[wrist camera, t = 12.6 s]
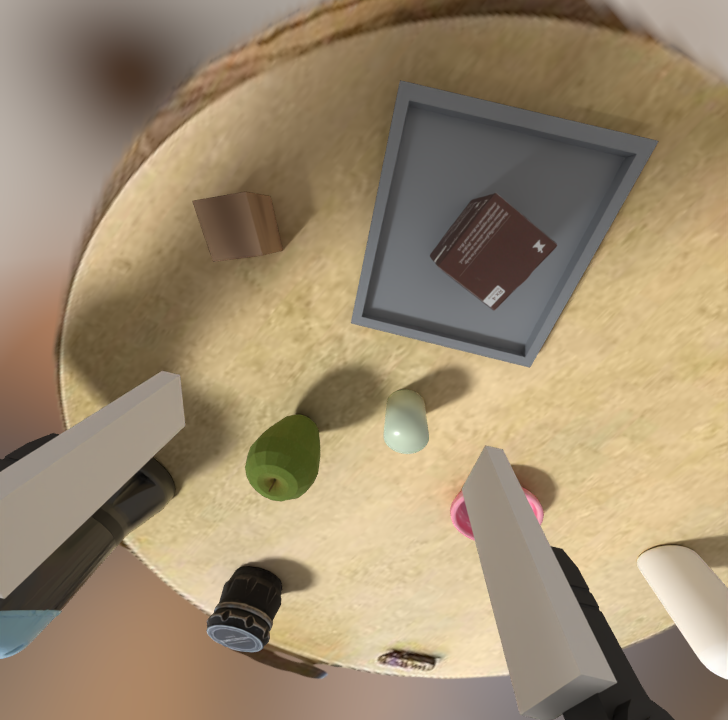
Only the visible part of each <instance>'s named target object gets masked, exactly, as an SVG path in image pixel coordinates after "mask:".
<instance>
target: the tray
mask: <svg viewBox="0 0 728 720" xmlns="http://www.w3.org/2000/svg"><path fill="white" fill-rule="evenodd" d="M657 143H658V141H657V140H652V139H648V138H644V137H639V136H635V135H631V134H627V133H622V132H618V131H614V130H610V129H605V128H601V127H597V126H593V125H588V124H584V123H580V122H576V121H571V120H567V119H563V118H559V117H554V116H550V115H546V114H542V113H537V112H533V111H529V110H524V109H520V108H516V107H512V106H507V105H503V104H499V103H495V102H490V101H486V100H482V99H478V98H473V97H469V96H465V95H461V94H456V93H452V92H448V91H444V90H439V89H435V88H431V87H426V86H422V85H418V84H414V83H409V82H405V81H401V80H400V83H399V88H398V93H397V98H396V103H395V108H394V113H393V118H392V123H391V128H390V132H389V137H388V142H387V147H386V152H385V157H384V162H383V167H382V172H381V177H380V182H379V187H378V192H377V197H376V202H375V207H374V212H373V217H372V221H371V226H370V231H369V236H368V241H367V246H366V251H365V256H364V261H363V266H362V271H361V276H360V281H359V286H358V291H357V296H356V301H355V306H354V310H353V315H352V320H351V323H352V324H356V325H360V326H364V327H368V328H372V329H376V330H380V331H384V332H388V333H392V334H396V335H400V336H404V337H408V338H412V339H417V340H421V341H425V342H429V343H433V344H437V345H441V346H445V347H449V348H453V349H457V350H461V351H465V352H469V353H473V354H477V355H481V356H485V357H489V358H493V359H497V360H502V361H506V362H510V363H514V364H518V365H522V366H526V367H531V365H532V363H533V361H534V360H535V358H536V356H537V354H538V353H539V351H540V349H541V347H542V346H543V344H544V342H545V340H546V339H547V337H548V335H549V333H550V332H551V330H552V328H553V326H554V324H555V323H556V321H557V319H558V317H559V316H560V314H561V312H562V310H563V309H564V307H565V305H566V303H567V302H568V300H569V298H570V296H571V295H572V293H573V291H574V289H575V287H576V286H577V284H578V282H579V280H580V279H581V277H582V275H583V273H584V272H585V270H586V268H587V266H588V265H589V263H590V261H591V259H592V258H593V256H594V254H595V252H596V250H597V249H598V247H599V245H600V243H601V242H602V240H603V238H604V236H605V235H606V233H607V231H608V229H609V228H610V226H611V224H612V222H613V221H614V219H615V217H616V215H617V214H618V212H619V210H620V208H621V206H622V205H623V203H624V201H625V199H626V198H627V196H628V194H629V192H630V191H631V189H632V187H633V185H634V184H635V182H636V180H637V178H638V177H639V175H640V173H641V171H642V169H643V168H644V166H645V164H646V162H647V161H648V159H649V157H650V155H651V154H652V152H653V150H654V148H655V147H656V145H657ZM494 193H497V194H498V195H500V196H501V197H502V198H503V199H504V200H505V201H507V202H508V203H509V204H510V205H511V206H512V207H514V208H515V209H516V210H517V211H519V212H520V213H521V214H522V215H524V216H525V217H526V218H527V219H528V220H530V221H531V222H532V223H533V224H534V225H535V226H537V227H538V228H539V229H540V230H541V231H542V232H544V233H545V234H546V235H547V236H548V237H549V238H551V239H552V240H553V241H554V242H556V243H557V247H556V248H555V249H554V250H553V251H552V252H551V253H550V255H549V256H548V257H547V258H546V259H545V260H544V261H543V262H542V263H541V264H540V265H539V266H538V267H537V268H536V269H535V270H534V271H533V272H532V273H531V275H530V276H529V277H528V279H527V280H526V281H525V282H524V283H522V284H521V285H520V286H519V287H517V288H516V290H515V291H514V292H513V293H512V294H511V295H510V296H509V297H508V298H507V299H506V300H505V301H504V302H503V303H502V304H501V305H500V306H499V307H498V308H497V309H496V310H495V311H494V310H492V309H491V308H489V307H488V306H487V305H485V304H484V303H483V302H482V301H480V300H479V299H478V298H476V297H475V296H474V295H473V294H471V293H470V292H469V291H467V290H466V289H465V288H463V287H462V286H461V285H460V284H458V283H457V282H456V281H454V280H453V279H452V278H451V277H449V276H448V275H447V274H445V273H444V272H443V271H442V270H441V269H440V268H439V267H438V266H437V265H436V264H435V262H434V261H433V260H432V259H431V258H430V254H431V253H432V251H433V250H434V249H435V247H436V246H437V245H438V243H439V242H440V240H441V239H442V238H443V236H444V235H445V234H446V232H447V231H448V230H449V228H450V227H451V225H452V224H453V223H454V222H455V220H456V219H457V218H458V217H459V215H460V214H461V213H462V212H463V210H464V209H465V208H466V206H467V205H468V204H469V202H470V201H471V200H472V199H476V198H479V197H483V196H487V195H490V194H494Z"/></svg>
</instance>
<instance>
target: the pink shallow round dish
mask: <svg viewBox="0 0 728 720" xmlns="http://www.w3.org/2000/svg"><path fill="white" fill-rule="evenodd" d="M522 489H523V491H524V493H525V495H526V498H527V500H528V502H529V504H530V506H531V508H532V510H533V512H534V514H535V516H536V518H537V520H538V522H539V524H540V525H541V523H542V521H543V516H544V513H543V508H542V506H541V504H540V502H539V500H538V499H537V498H536V497H535V496H534V495H533V494H532V493H531V492H530V491H528V490H526V489H525V488H523V487H522ZM450 513H451V520H452V522H453V524H454V526H455V527H456V529H457V530H458V531H459V532H460V533H462V534H463V535H465V536H466V537H468V538H470V539H472V540H475V539H474V535H473V531H472V527H471V524H470V520H469V516H468V512H467V508H466V504H465V500H464V497H463V493H462V491H460V492H459V493H458V495H457V496H456V498H455V499H454V500H453V502H452V505H451V509H450Z"/></svg>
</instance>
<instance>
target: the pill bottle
mask: <svg viewBox="0 0 728 720" xmlns="http://www.w3.org/2000/svg"><path fill="white" fill-rule="evenodd" d="M637 565H638V568H639V569H640V571H641V573H642V574H643V576H644V577H645V579H646V580H647V582H648V583H649V585H650V586H651V588H652V589H653V591H654V592H655V594H656V595H657V597H658V598H659V600H660V601H661V603H662V604H663V606H664V607H665V609H666V610H667V612H668V613H669V615H670V616H671V618H672V619H673V621H674V622H675V624H676V625H677V627H678V628H679V629H680V631H681V633H682V634H683V635H684V637H685V638H686V640H687V641H688V643H689V644H690V646H691V647H692V649H693V651H694V652H695V654H696V655H697V656H698V658H699V659H700V661H701V662H702V663H703V664H704V665H705V666H706V667H707V668H708V669H709V670H710V671H712V672H713V673H715V674H717V675H718V676H720V677H723V678H725V679H728V588H727V587H726V585H725V584H724V583H723V582H722V581H721V580H720V579H719V577H718V576H717V575H716V574H715V573H714V572H713V571H712V569H711V568H710V567H709V566H708V565H707V564H706V563H705V561H704V560H703V559H702V558H701V557H700V556H699V555H698V554H697V553H696V552H694V551H693V550H691V549H689V548H687V547H683V546H676V545H668V546H660V547H656V548H652V549H650V550H647V551H646V552H644V553H642V554H641V555H640V556H639V558H638V559H637Z"/></svg>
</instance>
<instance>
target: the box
mask: <svg viewBox="0 0 728 720" xmlns="http://www.w3.org/2000/svg"><path fill="white" fill-rule="evenodd" d="M556 247H557V243H556V242H554V241H553V240H552V239H551V238H549V237H548V236H547V235H546V234H545V233H544V232H542V231H541V230H540V229H539V228H538V227H537V226H535V225H534V224H533V223H532V222H531V221H530V220H528V219H527V218H526V217H525V216H524V215H522V214H521V213H520V212H519V211H517V210H516V209H515V208H514V207H512V206H511V205H510V204H509V203H508V202H507V201H505V200H504V199H503V198H502V197H501V196H500V195H498V194H497V193H494V194H490V195H487V196H483V197H479V198H476V199H472V200H471V201H470V202H469V204H468V205H467V206H466V208H465V209H464V210H463V212H462V213H461V214H460V215H459V217H458V218H457V219H456V220H455V222H454V223H453V224H452V225H451V227H450V228H449V230H448V231H447V232H446V234H445V235H444V236H443V238H442V239H441V240H440V242H439V243H438V245H437V246H436V247H435V249H434V250H433V251H432V253H431V254H430V258H431V259H432V260H433V261H434V262H435V264H436V265H437V266H438V267H439V268H440V269H441V270H442V271H443V272H444V273H445V274H447V275H448V276H449V277H451V278H452V279H453V280H454V281H456V282H457V283H458V284H460V285H461V286H462V287H463V288H465V289H466V290H467V291H469V292H470V293H471V294H473V295H474V296H475V297H476V298H478V299H479V300H480V301H482V302H483V303H484V304H485V305H487V306H488V307H489V308H491V309H492V310H494V311H495V310H496V309H497V308H498V307H499V306H500V305H501V304H502V303H503V302H504V301H505V300H506V299H507V298H508V297H509V296H510V295H511V294H512V293H513V292H514V291H515V290H516V288H517V287H519V286H520V285H521V284H522V283H524V282H525V281H526V280H527V279H528V277H529V276H530V275H531V273H532V272H533V271H534V270H535V269H536V268H537V267H538V266H539V265H540V264H541V263H542V262H543V261H544V260H545V259H546V258H547V257H548V256H549V255H550V253H551V252H552V251H553V250H554V249H555V248H556Z"/></svg>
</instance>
